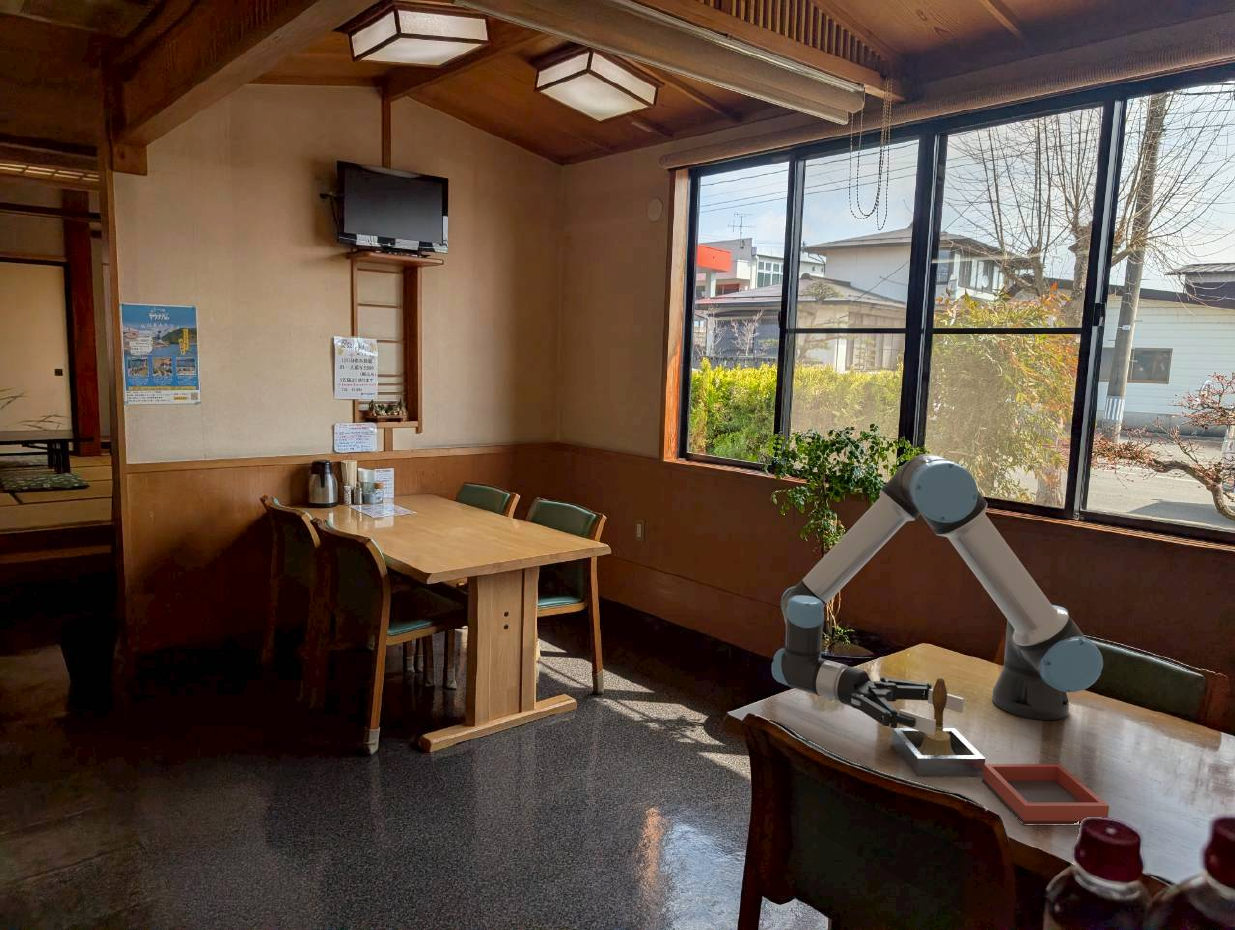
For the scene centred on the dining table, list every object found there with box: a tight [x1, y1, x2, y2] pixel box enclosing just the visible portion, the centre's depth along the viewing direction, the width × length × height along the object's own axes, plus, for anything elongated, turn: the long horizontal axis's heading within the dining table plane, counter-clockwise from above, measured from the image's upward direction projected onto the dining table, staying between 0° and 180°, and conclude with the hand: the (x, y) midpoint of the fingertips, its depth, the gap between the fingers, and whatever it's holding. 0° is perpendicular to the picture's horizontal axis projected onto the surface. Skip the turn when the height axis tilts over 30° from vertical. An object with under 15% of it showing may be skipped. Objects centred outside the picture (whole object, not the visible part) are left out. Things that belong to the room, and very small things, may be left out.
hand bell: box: [916, 677, 955, 755], centre depth 155 cm, size 8×8×16 cm
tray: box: [981, 763, 1110, 825], centre depth 141 cm, size 14×14×3 cm
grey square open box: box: [891, 727, 986, 778], centre depth 156 cm, size 12×12×4 cm
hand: (949, 716), depth 153 cm, fingers open, 13 cm apart
